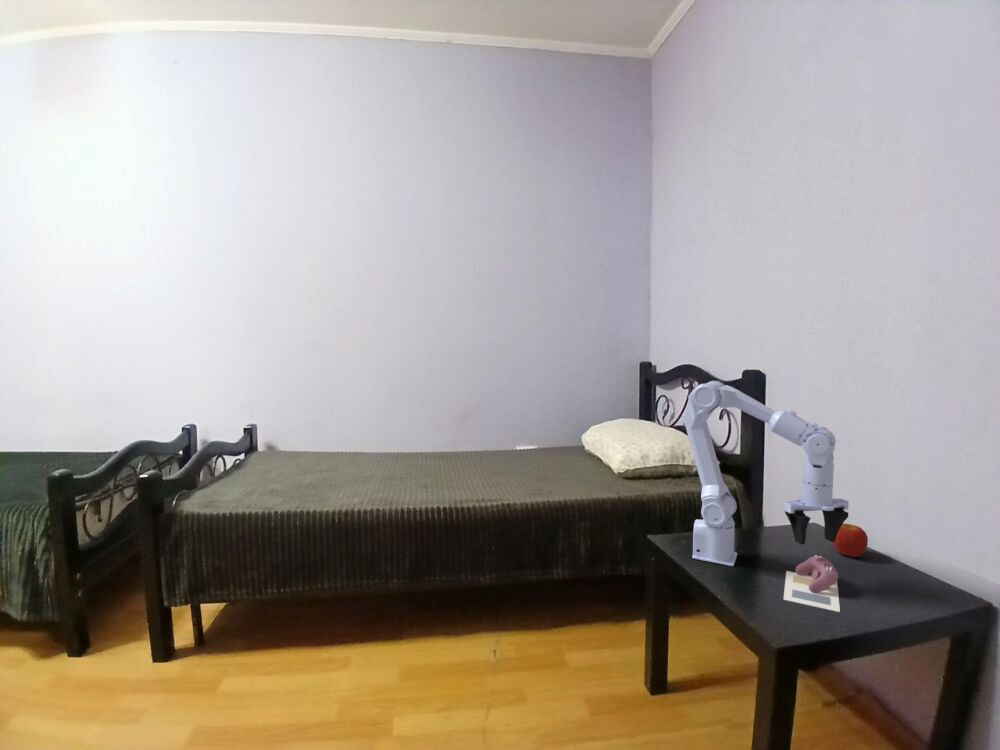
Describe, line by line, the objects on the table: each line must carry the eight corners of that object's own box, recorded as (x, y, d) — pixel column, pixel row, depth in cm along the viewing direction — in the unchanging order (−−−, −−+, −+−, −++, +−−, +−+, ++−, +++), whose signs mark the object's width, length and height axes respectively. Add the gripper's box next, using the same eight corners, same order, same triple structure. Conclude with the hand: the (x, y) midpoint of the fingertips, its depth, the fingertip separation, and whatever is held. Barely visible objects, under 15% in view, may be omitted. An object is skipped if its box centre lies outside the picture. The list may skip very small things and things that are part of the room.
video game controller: (828, 602, 111) (846, 575, 110) (808, 591, 111) (825, 564, 110) (811, 580, 120) (827, 555, 119) (792, 570, 121) (808, 545, 120)
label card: (783, 601, 109) (783, 599, 109) (786, 572, 122) (786, 570, 122) (839, 614, 104) (840, 611, 104) (836, 582, 117) (836, 580, 117)
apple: (837, 559, 128) (838, 528, 127) (824, 546, 136) (825, 517, 135) (873, 562, 126) (874, 531, 126) (858, 549, 134) (859, 519, 133)
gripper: (801, 489, 111) (799, 551, 112) (861, 486, 113) (858, 546, 114) (778, 480, 118) (776, 538, 119) (835, 477, 120) (832, 534, 121)
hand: (814, 541), depth 117 cm, fingers open, 7 cm apart
